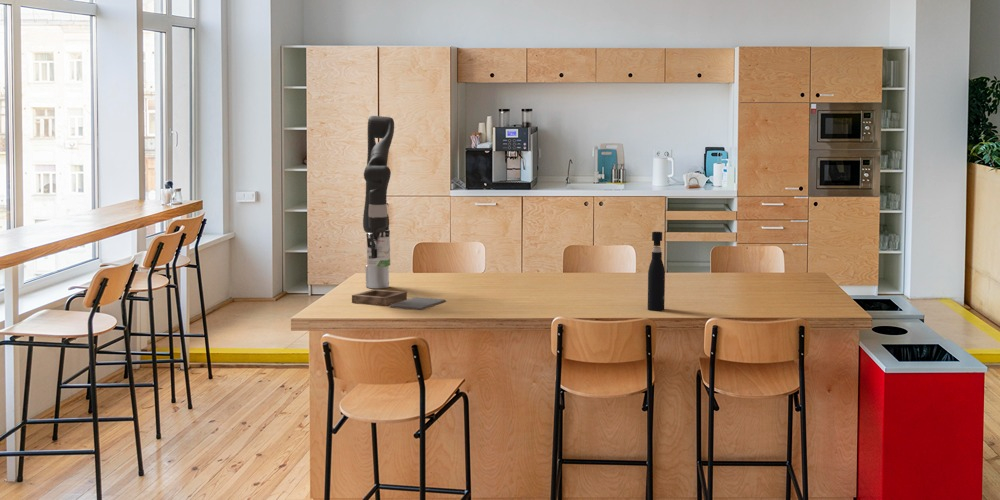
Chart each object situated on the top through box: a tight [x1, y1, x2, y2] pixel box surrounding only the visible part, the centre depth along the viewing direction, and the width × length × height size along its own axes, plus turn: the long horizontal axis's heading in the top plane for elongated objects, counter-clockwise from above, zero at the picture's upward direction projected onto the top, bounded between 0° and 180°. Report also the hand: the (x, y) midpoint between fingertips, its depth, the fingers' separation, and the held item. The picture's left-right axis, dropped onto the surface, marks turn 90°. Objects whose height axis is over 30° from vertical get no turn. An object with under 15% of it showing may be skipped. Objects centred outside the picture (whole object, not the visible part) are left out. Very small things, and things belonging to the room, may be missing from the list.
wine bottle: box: [647, 231, 666, 312], centre depth 399 cm, size 6×6×30 cm
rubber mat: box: [389, 296, 447, 311], centre depth 414 cm, size 14×20×1 cm
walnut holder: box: [351, 288, 408, 306], centre depth 421 cm, size 16×16×3 cm
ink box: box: [366, 236, 391, 267], centre depth 419 cm, size 8×5×12 cm, turn 79°
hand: (378, 256), depth 419 cm, fingers closed on ink box, 5 cm apart
